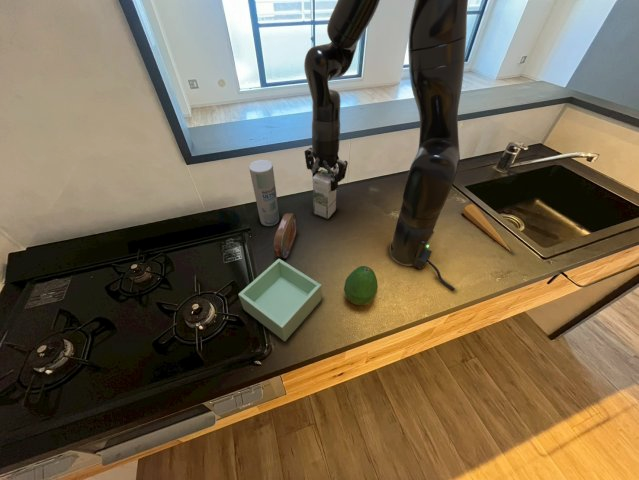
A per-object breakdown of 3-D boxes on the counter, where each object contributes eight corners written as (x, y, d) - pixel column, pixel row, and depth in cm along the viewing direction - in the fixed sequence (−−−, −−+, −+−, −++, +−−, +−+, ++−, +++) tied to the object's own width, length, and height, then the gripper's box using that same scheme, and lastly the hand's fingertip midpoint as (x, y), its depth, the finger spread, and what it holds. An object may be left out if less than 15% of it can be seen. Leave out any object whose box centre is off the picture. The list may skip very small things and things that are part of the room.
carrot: (459, 214, 95) (460, 206, 91) (471, 207, 94) (473, 199, 91) (503, 259, 83) (506, 252, 79) (517, 252, 83) (521, 245, 79)
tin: (284, 264, 78) (281, 243, 72) (274, 262, 79) (270, 241, 73) (298, 228, 89) (296, 207, 83) (288, 227, 89) (286, 206, 83)
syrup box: (336, 210, 95) (338, 173, 85) (327, 220, 91) (328, 182, 81) (321, 204, 97) (321, 168, 87) (312, 214, 94) (311, 177, 83)
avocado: (372, 315, 67) (379, 286, 59) (340, 307, 69) (343, 278, 60) (376, 289, 72) (384, 258, 64) (346, 282, 74) (350, 251, 65)
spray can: (266, 229, 88) (256, 174, 74) (256, 218, 92) (244, 164, 78) (283, 220, 91) (277, 166, 77) (272, 211, 95) (264, 157, 81)
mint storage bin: (321, 300, 70) (321, 284, 65) (284, 341, 63) (282, 327, 58) (281, 274, 76) (278, 258, 71) (243, 309, 68) (237, 294, 64)
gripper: (296, 131, 76) (299, 183, 88) (340, 146, 70) (337, 200, 82) (313, 122, 80) (314, 173, 92) (356, 135, 74) (351, 188, 86)
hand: (325, 185), depth 87 cm, fingers closed on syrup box, 6 cm apart
